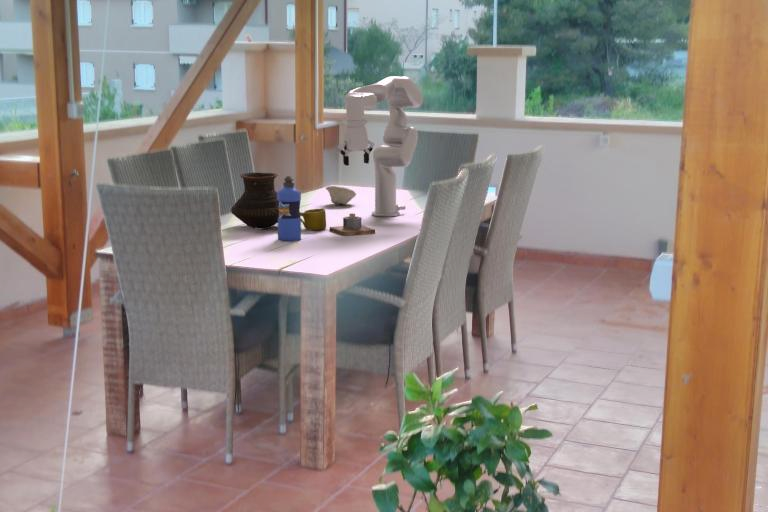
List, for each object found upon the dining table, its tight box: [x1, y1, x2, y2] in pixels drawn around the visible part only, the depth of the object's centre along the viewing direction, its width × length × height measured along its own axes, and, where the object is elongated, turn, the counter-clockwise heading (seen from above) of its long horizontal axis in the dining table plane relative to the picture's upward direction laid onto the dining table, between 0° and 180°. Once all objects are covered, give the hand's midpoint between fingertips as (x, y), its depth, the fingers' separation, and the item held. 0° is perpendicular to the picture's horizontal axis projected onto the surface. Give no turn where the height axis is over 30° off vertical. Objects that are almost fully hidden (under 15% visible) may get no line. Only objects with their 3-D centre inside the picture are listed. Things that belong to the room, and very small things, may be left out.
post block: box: [329, 213, 376, 237], centre depth 429 cm, size 14×14×8 cm
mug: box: [300, 208, 327, 232], centre depth 436 cm, size 12×10×10 cm
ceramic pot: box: [230, 171, 279, 229], centre depth 438 cm, size 24×24×22 cm
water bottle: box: [276, 175, 302, 243], centre depth 410 cm, size 9×9×25 cm
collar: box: [342, 216, 363, 230], centre depth 429 cm, size 7×7×4 cm
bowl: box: [325, 185, 357, 206], centre depth 503 cm, size 15×14×10 cm
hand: (356, 164), depth 446 cm, fingers open, 9 cm apart
